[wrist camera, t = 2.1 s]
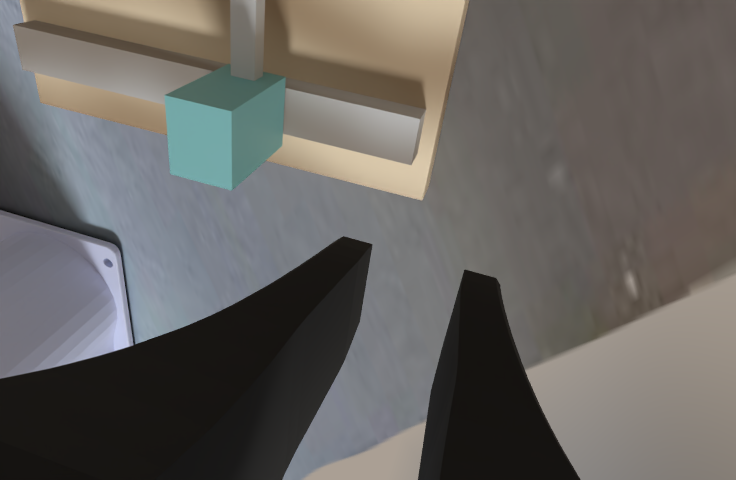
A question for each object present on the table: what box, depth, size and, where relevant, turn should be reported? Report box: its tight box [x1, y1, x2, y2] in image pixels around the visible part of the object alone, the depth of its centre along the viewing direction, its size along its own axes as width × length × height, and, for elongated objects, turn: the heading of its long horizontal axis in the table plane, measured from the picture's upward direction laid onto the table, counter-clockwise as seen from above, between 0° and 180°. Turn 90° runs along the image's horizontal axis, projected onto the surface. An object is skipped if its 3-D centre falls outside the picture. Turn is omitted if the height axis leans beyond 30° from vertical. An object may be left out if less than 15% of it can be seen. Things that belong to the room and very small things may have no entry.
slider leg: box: [164, 0, 286, 190], centre depth 16 cm, size 7×2×5 cm, turn 172°
